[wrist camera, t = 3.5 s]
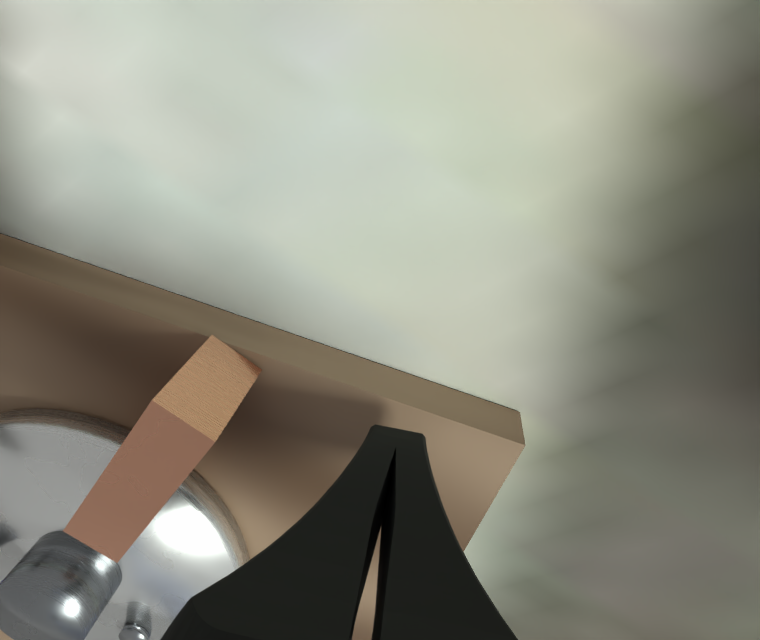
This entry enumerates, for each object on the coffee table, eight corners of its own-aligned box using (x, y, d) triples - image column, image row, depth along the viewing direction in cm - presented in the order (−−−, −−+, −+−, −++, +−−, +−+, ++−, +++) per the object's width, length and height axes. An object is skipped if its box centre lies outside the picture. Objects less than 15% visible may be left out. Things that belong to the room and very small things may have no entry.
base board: (347, 724, 24) (321, 874, 20) (-132, 564, 24) (-269, 680, 19) (519, 412, 15) (543, 554, 11) (-234, 153, 15) (-527, 190, 11)
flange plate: (165, 676, 21) (123, 763, 19) (-87, 535, 20) (-174, 610, 17) (399, 465, 15) (385, 554, 12) (51, 222, 13) (-55, 264, 10)
